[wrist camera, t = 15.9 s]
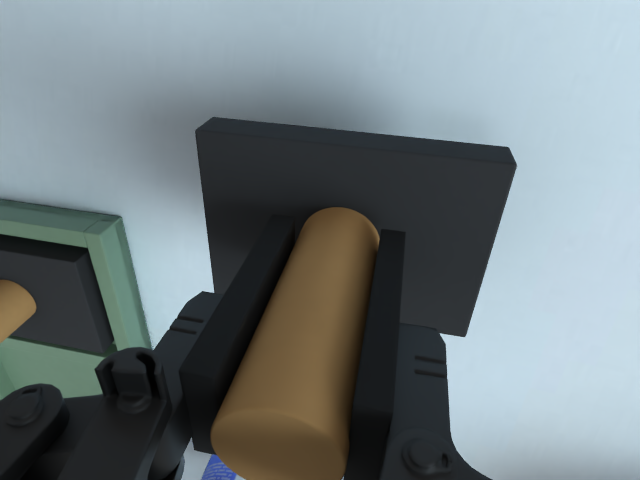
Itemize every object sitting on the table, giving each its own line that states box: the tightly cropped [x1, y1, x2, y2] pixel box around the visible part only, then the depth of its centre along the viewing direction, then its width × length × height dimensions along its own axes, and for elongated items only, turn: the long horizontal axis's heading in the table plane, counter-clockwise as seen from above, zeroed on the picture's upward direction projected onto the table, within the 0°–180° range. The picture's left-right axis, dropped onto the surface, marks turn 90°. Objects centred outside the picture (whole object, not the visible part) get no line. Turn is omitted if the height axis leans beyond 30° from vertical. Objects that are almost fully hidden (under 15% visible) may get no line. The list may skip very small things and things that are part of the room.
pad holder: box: [0, 199, 152, 400], centre depth 30 cm, size 20×14×2 cm
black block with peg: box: [195, 117, 517, 480], centre depth 13 cm, size 7×10×10 cm
